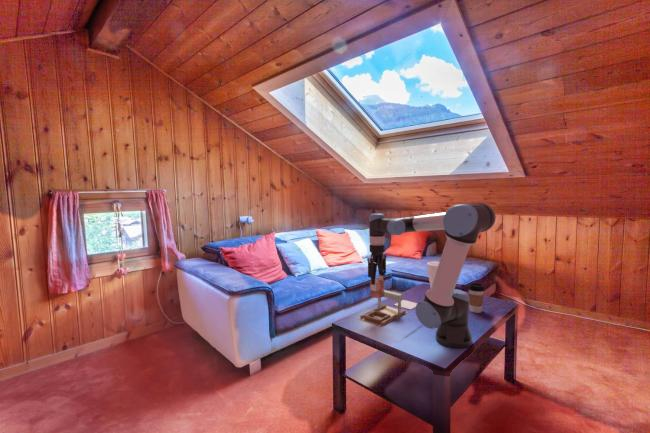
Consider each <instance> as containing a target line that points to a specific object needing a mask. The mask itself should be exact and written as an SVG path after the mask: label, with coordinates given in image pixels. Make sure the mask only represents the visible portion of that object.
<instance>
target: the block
mask: <svg viewBox="0 0 650 433" xmlns="http://www.w3.org/2000/svg"><path fill="white" fill-rule="evenodd" d="M369 282H370V289H369V291H370V297H372V298H375V299H377V300H378V299H379V298H381V299H382V298H385V297H384V290H385V280H384V279H383V280H378V278H377V291H373V290H371V280H370V281H369Z"/></svg>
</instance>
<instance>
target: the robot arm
mask: <svg viewBox="0 0 650 433" xmlns="http://www.w3.org/2000/svg"><path fill="white" fill-rule="evenodd" d="M496 217H497V216H496V213H495V210H494V209H493V208H492V207H491V206H490V205H489V204H487V203H482V202H474V203H460V204H459V203H458V204H455V205H452V206H450V207H449V208H448V209H447V210H446V212H445V211H444V212H437V213H431V214H429V213H428V214H424V215H417V216H406V217H396V218H385V214H384V213H378V212H377V213H371V214H370V215H369V219H368V224H369V225H368V227H369V229H368V230H369V231H368V232H369V252H370V253H371V254H370V257H367V277H368V278H370V281H371V290H373V291H377V279H378V280H383V281H384V277H385V276H386V273H387V254H384V253H385V251H386V250H385V235H386V234H387V235H392V236H401V235H403V234H405V233H414V232H415V233H417V232H428V231H430V232H431V231H442V230H443V231H444V235H445V237H446V241H445V244H444V247H443V249H442V253H441V257H440V259H439V261H438V262H439V265H438V269H437V272H436V275H435V278H434V281H433V284H432V287H430V288H428V289H427V290H426V291H425V293H424V296H423V299H422V300H420V301H418V302H416V303H417V305H416V307H415V308H414V309H415V310H414V311H415V314H416V317H417V319H418V321H419V322H420V324H421V325H422V326H424V327H425V328H426V329H436V328H437V329H436V331H435V340H436V341H437V342H438V343H439V344H441V345H442V346H445V347H449V348H452V349H466V348H469V347H471V346H472V344H473V338H472V334H471V331H470V328H469V309H470V304H469V293H467V292H466V291H465V290H464V291H463V290H461V289H455V288H456V286H457V283H458V281H459V278H460V275H461V272H462V269H463V266H464V264H465V261H466V258H467V256H468V253H469V249H470V247H471V246H473V245H475V244H476V242H477V240H478V237H479V235H480V233H484V232H486V231H489V230H490V229H492V227H493V226H494V225H495V222H496V219H497V218H496ZM377 270H378V274H377ZM376 276H377V277H376Z"/></svg>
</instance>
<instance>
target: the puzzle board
mask: <svg viewBox="0 0 650 433" xmlns="http://www.w3.org/2000/svg"><path fill="white" fill-rule="evenodd" d="M408 313H409V312H408V311H407V309H406V310H405V309H401V313H398V308H395V307H392V306H388V305H387V304H383V305H382V304H381V307H380V308H379V307H378V306H377V307H376V308H374V309H371V310H369V311H367V312H366V313H363V314H361V315H360V316H359V317H360V318H358V319H357V320H358V321H362V322H363V323H367V324H370V325H372V326H375V327H378V328H383V327H384V326H386V325H387V324H390V323H391V322H393V321H395V320H396V319H398V318H400V317H402V316H404V315H406V314H408Z"/></svg>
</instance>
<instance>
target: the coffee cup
mask: <svg viewBox="0 0 650 433" xmlns="http://www.w3.org/2000/svg"><path fill="white" fill-rule="evenodd" d="M467 289H468V298H469V311H470V312H472V313H475V314H480V313H482V312H483V311H482V310H483V302H484V297H485V294H484V293H485V286H484V285H483V284H481V283H475V282H474V283H472V282H471V283H469V284H468V286H467Z"/></svg>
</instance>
